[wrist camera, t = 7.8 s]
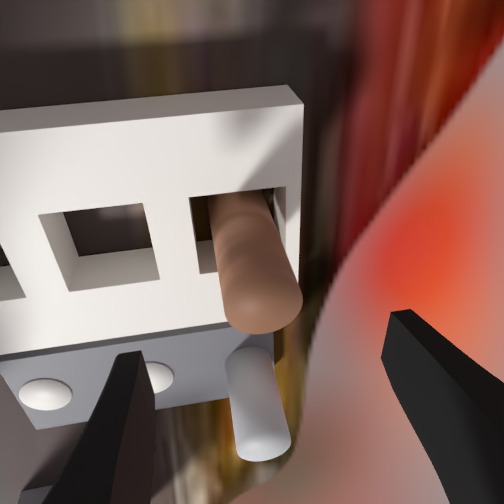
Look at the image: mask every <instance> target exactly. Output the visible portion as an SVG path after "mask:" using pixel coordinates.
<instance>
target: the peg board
mask: <svg viewBox="0 0 504 504" xmlns="http://www.w3.org/2000/svg"><path fill="white" fill-rule="evenodd" d="M303 112H304V104H303V103H302V101H301V100H300V99H299V98H298V97H297V96H296V94H295V93H294V92H293V91H292V90H291V88H290V87H289V86H288V85H279V86H267V87H256V88H245V89H234V90H223V91H212V92H200V93H189V94H178V95H167V96H156V97H145V98H133V99H122V100H111V101H100V102H89V103H78V104H66V105H55V106H44V107H33V108H22V109H10V110H0V244H1V246H2V248H3V250H4V253H5V255H6V257H7V259H8V261H9V263H10V266H2V267H0V355H3V354H10V353H17V352H23V351H30V350H37V349H44V348H51V347H57V346H64V345H71V344H78V343H84V342H91V341H98V340H105V339H112V338H118V337H125V336H132V335H139V334H145V333H152V332H159V331H166V330H173V329H179V328H186V327H193V326H200V325H206V324H213V323H220V322H227V319H226V317H225V313H224V307H223V300H222V294H221V288H220V282H219V275H218V269H217V263H216V257H215V251H214V244H213V240H207V241H199V242H197V241H196V234H195V227H194V221H193V214H192V207H191V200H190V197H196V196H205V195H213V194H222V193H231V192H239V191H248V190H257V189H265V188H274V223H275V226H276V229H277V231H278V234H279V236H280V239H281V241H282V244H283V246H284V249H285V252H286V254H287V257H288V259H289V262H290V264H291V267H292V270H293V272H294V275H295V277H296V280H297V282H298V270H299V239H300V207H301V175H302V144H303ZM135 203H143V205H144V210H145V214H146V219H147V223H148V228H149V232H150V236H151V241H152V245H153V247H152V248H144V249H136V250H128V251H120V252H112V253H104V254H97V255H89V256H81V257H79V256H78V253H77V250H76V247H75V245H74V242H73V239H72V236H71V234H70V231H69V228H68V225H67V223H66V220H65V217H64V214H63V212H66V211H75V210H83V209H92V208H101V207H109V206H118V205H127V204H135Z"/></svg>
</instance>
